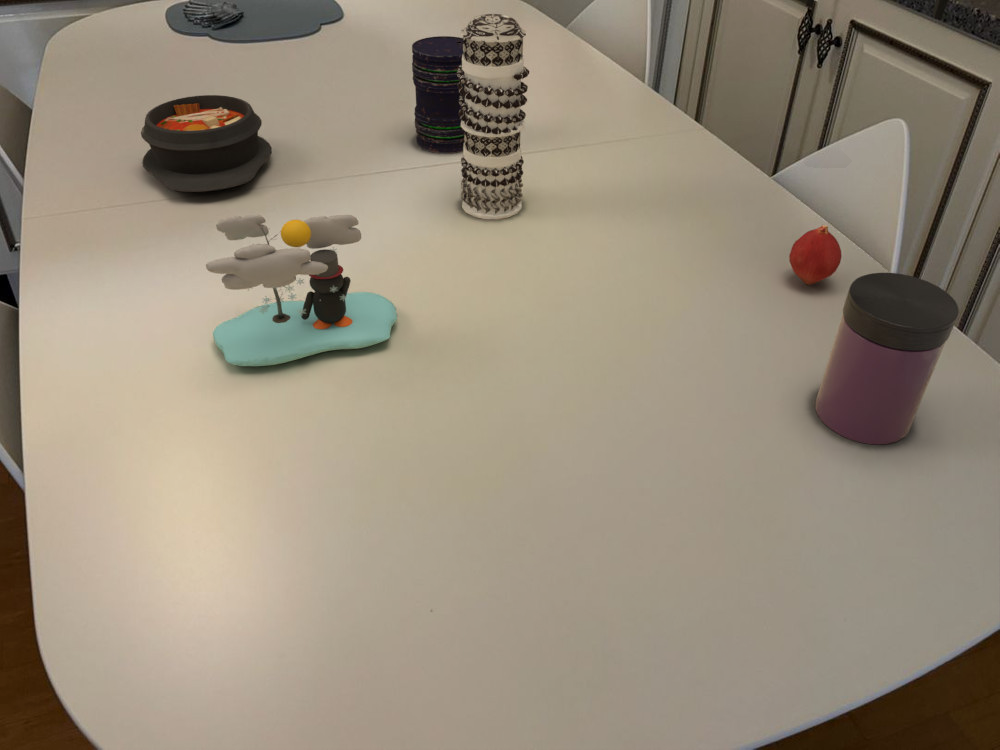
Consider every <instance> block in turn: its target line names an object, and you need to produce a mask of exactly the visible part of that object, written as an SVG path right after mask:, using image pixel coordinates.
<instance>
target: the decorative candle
mask: <svg viewBox="0 0 1000 750" xmlns="http://www.w3.org/2000/svg"><path fill="white" fill-rule="evenodd" d="M460 30H461V31H460V35H461V36H462V38H463V52H464V53H463V55H462V65H461V66H459V67H458V72H457V77H459V83H458V84H457V87H458V88H459V93H460V94H461V95H460V99H459V104H460V107H461V109H460V111H459V114H460V119H461V127H462V128H463V129H464V130H465V134H464V140H465V142H464V146H463V151H462V153H463V154H462V157H461V159H460V163H461V167H462V168H461V169H460V171H461V177H462V179H461V180H460V181H461V182H460V183H461V184H460V185H461V194H460V195H461V199H462V203H461V208H462V209H463V210H464V212H465V213H466V214H468V215H470V216H471V217H474V218H479V219H483V220H501V219H507V218H510V217H513V216H516V215H517V214H518V213H519V212H520V211H521V210H522V206H523V205H522V203H523V202H522V198H523V196H524V195H523V193H522V188H523V187H524V183H523V179H522V178H523V177H522V176H523V175H524V170H523V165H524V163H525V162H524V159H523V155H522V143H521V131H522V130H523V129H524V128H525V118H526V116H527V114H526V112H525V111H524V110H523V109H522V108H521V107H523V106H525V105H526V103H527V102H528V98H527V97H526V96H525V95H524V94H526V93H527V91H528V88H529V87H528V85H527V83H525V82H524V81H523V80H524V79H525V78H527V77H528V76H529V75H530V69H528V68H527V67H526V66H524V64H525V63H524V61H525V55H524V54H523V53H524V52H523V51H524V38H525V37H526V35H527V30H525V29H523V28H522V27H521V26H520V24H519V22H518V21H517V20H516V19H515V18H513V16H509V15H505V14H501V13H485V14H480V15H477V16H474V17H473V18H471V19H470V20H469V21H468V24H467V25H466V26H465V27H464V28H462V29H460ZM462 73H463V74H464V75H462ZM462 84H464V85H465V89H464V86H463V87H462ZM464 100H465V103H464ZM464 111H465V113H464Z"/></svg>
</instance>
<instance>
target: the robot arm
mask: <svg viewBox="0 0 1000 750" xmlns="http://www.w3.org/2000/svg"><path fill="white" fill-rule="evenodd" d="M814 3H815V0H806V2H805V7H808V8H809V7H810V8H813V6H814ZM947 4H948V0H935V3H934V6H933V9H932V16H933V19H934V20H935V19H936V20H942V19H943V15H944V12H945V10H946V6H947Z"/></svg>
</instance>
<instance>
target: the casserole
mask: <svg viewBox="0 0 1000 750" xmlns="http://www.w3.org/2000/svg"><path fill="white" fill-rule="evenodd" d="M262 122H263V120H262V119H261V117H260V116H259V115H258V114H257V113H256V112H255V111H254V109H253V107H252V105H251V104H250V103H249V102H247V100H243V99H241V98H238V97H234V96H229V95H219V94H217V95H216V94H207V95H206V94H204V95H202V94H201V95H192V96H186V97H180V98H176V99H171V100H169V101H166V102H163V103H160V104H159V105H157V106H155V107H153V108H152V109H151V110H149V111H148V112H147V113H146V115H145V117H144V124H143V125H144V126H143V127H142V128H141V131H140V135H141V138H142V139H143V140H144V142H145V143H147V144H148V145H149V147H150V149H148V150H147V151H146V152H145V154H144V156H143V158H142V162H141V163H142V167H143V168H144V169H145V171H146V172H147V173H149V174H150V175H153V177H155V178H157V179H159V180H160V181H161V182H162V183H163V184H164V186H165V187H166V188H167V189H170V190H173V191H176V192H183V193H193V192H194V193H200V192H201V193H202V192H213V191H219V190H226V189H230V188H234V187H238V186H241V185H244V184H246V183H248V182H250V181H251V180H253V179H254V178H255V177H256V175H257V173H258V171H259V169H260V168H261V166H262V165H264V164H265V163H266V161H268V159H269V158H270V157H271V155H272V154H273V153H272V151H273V150H272V146H271V144H270V142H268V141H267V140H266V139H264V137H262V136H259V131H260V129H261V128H262Z"/></svg>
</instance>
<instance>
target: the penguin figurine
mask: <svg viewBox="0 0 1000 750" xmlns="http://www.w3.org/2000/svg"><path fill="white" fill-rule="evenodd" d="M265 223H266V218H265V217H264V216H262V215H260V214H249V215H243V216H241V215H235V216H229V217H225V218H223V219H221V220H219V221H218V222H217V224H216V230H217V231H218V232H220V233H222V234H224V235H225V237H226V239H227V240H228V241H240V240H244V239H246V238H261V237H265V240H266V243H256V244H251V245H247V246H243V247H241V248H238V249H236V250H234V251H233V255H234V256H228V257H222V258H218V259H213V260H212V261H208V262H206V264H205V268H206V270H207V271H208V272H210V273H213V274H219V275H220V274H221V275H223V276H222V277H221V282H222V284H223V285H224V288H225V289H226V290H231V291H233V290H234V291H235V290H236V291H237V290H247V291H248V292H249V291H250V289H253V288H256V287H258V286H260V285H262V286H263V288H266V289H273V293H274V297H275V302H272V301H271V298H270V297H267V296H266V295H265V298H264V297H263V298H262V301H261V302H262V303H264V304H261V305H260V306H256V307H253V308H251V309H249V310H247V311H245V312H244V313H242V314H240V315H238V316H236V317H233V318H231V319H228V320H225V321H222V322H221V323H219V324H218V325H217V326H216V327H215V328H214V330H213V331H212V337H213V340H214V343H215V345H216V346H217V347H218V349H219V350H220V351H221V352H222V354H223V356H224V359H225V361H226V362H227V363H228V364H230V365H234V366H239V367H267V366H275V365H280V364H284V363H289V362H292V361H295V360H300V359H302V358H306V357H308V356H309V357H311V356H314V355H316V354H320V353H325V352H329V351H337V350H354V349H362V348H367V347H370V346H373V345H377V344H379V343H382V342H385V341H387V340H388V339H390V338H391V331H392V327H393V326H394V325H395V324H396V321H397V319H398V313H397V307H396V305H395V304H394V303H393V302H392V301H391V300H389V299H388V298H387V297H385V296H384V295H381V294H379V293H375V292H370V291H357V292H356V291H355V292H348V291H349V288H350V286H351V282H352V281H351V278H350V277H349V276H344V277H343V275H342V274H343V272H344V267H343V266H342V265H340V264H339V259H338V251H337V248H335V247H334V246H333V245H339V246H345V245H352V244H356V243H359V242H360V241H362V232H361V230H360V229H359V228H357V227H355V226H358V225H359V220H358V218H357V217H356V216H354V215H352V214H337V215H330V216H326V215H321V216H313V217H309V218H307V219H304V220H301V219H291V220H289V221H287V222H285V223H284V224H283V225H282V226H281V229H280V237H281V240H282V242H283V243H284V244H285V245H287V246H288V247H291V248H281V249H276V247H274V246H273V245H271V244H270V241H271V240H273V241H275V240H276V237H277V236H278V235H279V233H276V234H275V235H274V236H273V237H272V238H270V239H268V237H267V236H268V235H269V233H270V232H269V228H268V226H267V225H265ZM305 245H306V247H307V248H308V249H312V250H315V249H318V250H315V251H313V252H312V253H311V251H309V250H308V249H304V248H301V247H304V246H305ZM331 246H333V247H332V248H330V249H324V248H327V247H331ZM298 275H300V276H309V277H310V278H309V286H310V288H311V289H312V290H313V291H311V290H310V291H308V292H307V293H306V296H305V299H304V300H294V299H298V297H296V296H297V294H293V292H291V291H295V289H294V287H295V286H294V285H292V286H290V285H291V284H292V283H295V282H296V281H297V282H296V284H297V285H298V284H299V285H302V284H304V283H305V282H303V281H304V279H301V278H300V277H299V280H297V276H298ZM278 288H279V290H278ZM282 288H284V289H285V294H286V293H291V294H287V297H288V300H284V299H285V297H282V296H283V295H284V290H282ZM280 291H281V294H280V295H279V292H280Z"/></svg>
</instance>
